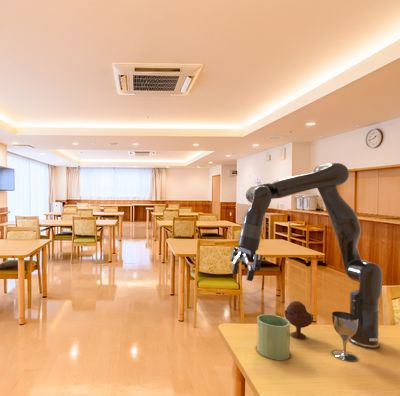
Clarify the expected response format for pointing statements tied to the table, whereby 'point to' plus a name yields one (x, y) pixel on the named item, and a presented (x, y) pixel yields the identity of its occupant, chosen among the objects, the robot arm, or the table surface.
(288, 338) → the tumbler
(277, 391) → the table surface
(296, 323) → the ice cream bowl
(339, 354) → the wine glass
